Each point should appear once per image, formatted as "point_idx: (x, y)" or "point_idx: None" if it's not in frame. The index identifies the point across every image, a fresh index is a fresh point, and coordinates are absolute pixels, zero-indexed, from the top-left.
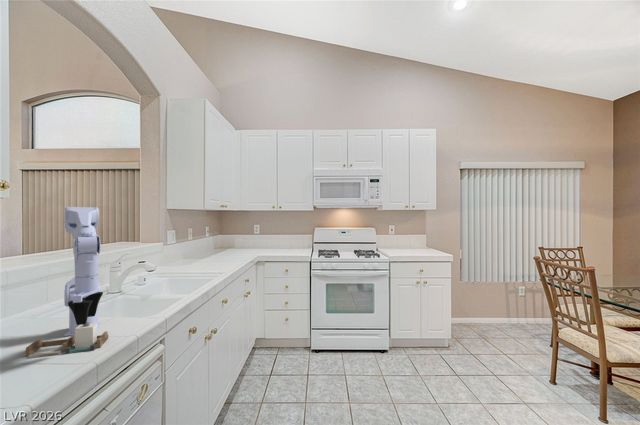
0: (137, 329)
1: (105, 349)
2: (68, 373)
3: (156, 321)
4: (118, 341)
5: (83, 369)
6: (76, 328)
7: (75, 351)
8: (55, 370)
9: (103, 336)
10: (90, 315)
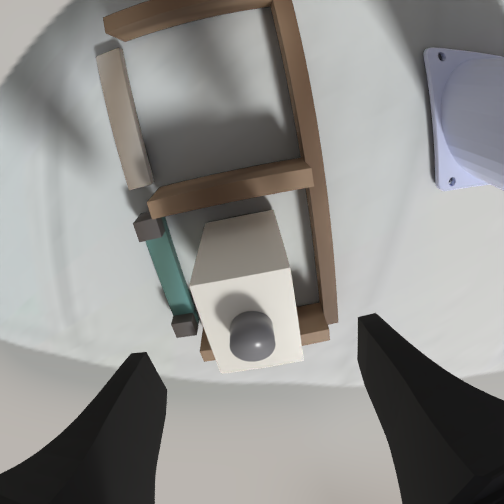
0: None
1: (195, 352)
2: (17, 322)
3: (470, 372)
4: None
5: (44, 349)
6: (194, 292)
7: (153, 259)
8: (19, 273)
9: None
10: (362, 345)
